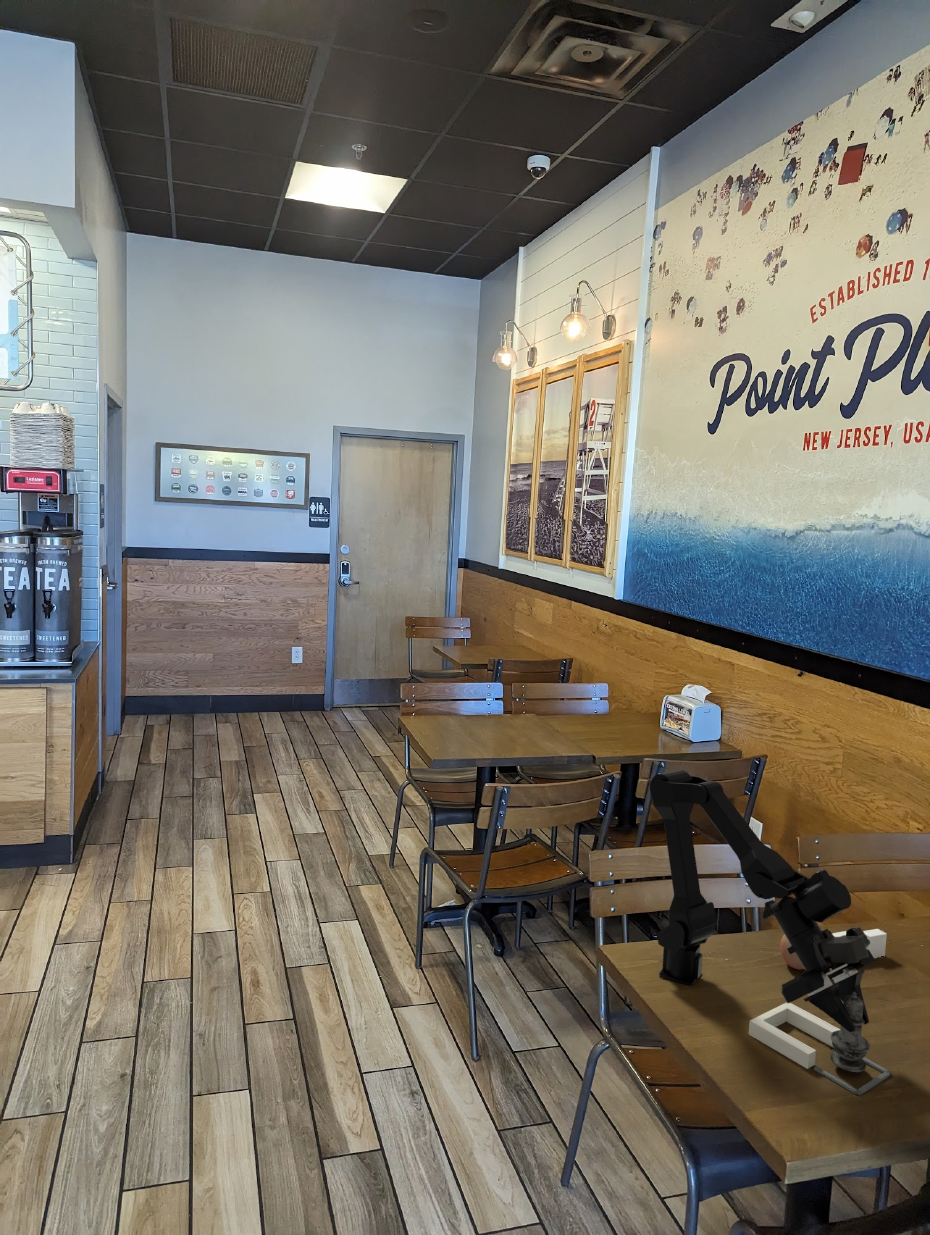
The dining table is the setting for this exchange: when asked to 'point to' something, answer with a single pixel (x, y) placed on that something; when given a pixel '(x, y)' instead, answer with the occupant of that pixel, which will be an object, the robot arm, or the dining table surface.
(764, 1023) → the u-shaped bracket
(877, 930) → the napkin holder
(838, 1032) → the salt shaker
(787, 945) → the fruit
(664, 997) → the dining table surface
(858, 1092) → the frame
